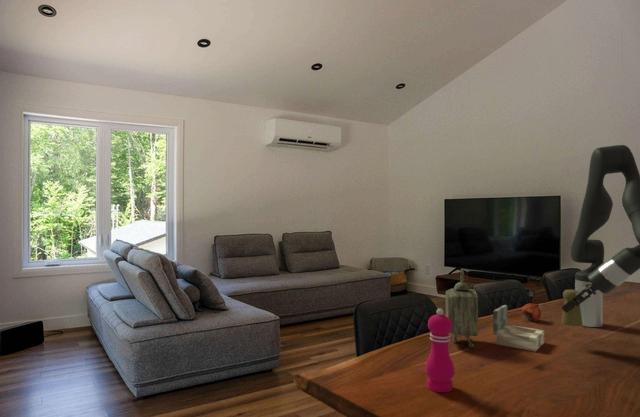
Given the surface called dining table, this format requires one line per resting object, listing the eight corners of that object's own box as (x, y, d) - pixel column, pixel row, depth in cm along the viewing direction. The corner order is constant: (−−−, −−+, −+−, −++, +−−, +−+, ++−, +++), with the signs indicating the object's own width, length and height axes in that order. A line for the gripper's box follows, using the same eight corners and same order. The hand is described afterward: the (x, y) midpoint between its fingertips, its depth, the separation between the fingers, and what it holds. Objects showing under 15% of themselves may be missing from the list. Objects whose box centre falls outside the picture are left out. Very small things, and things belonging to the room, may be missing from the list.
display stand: (503, 335, 160) (503, 304, 160) (544, 342, 152) (544, 310, 152) (493, 343, 150) (493, 310, 150) (535, 351, 142) (535, 316, 142)
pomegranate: (533, 329, 177) (551, 313, 178) (521, 314, 177) (539, 298, 178) (522, 326, 184) (539, 310, 185) (511, 312, 184) (528, 296, 186)
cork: (585, 326, 143) (585, 292, 143) (565, 325, 144) (565, 291, 144) (578, 321, 149) (578, 288, 149) (558, 320, 150) (558, 287, 150)
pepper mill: (421, 382, 117) (421, 305, 117) (448, 381, 118) (448, 305, 117) (430, 393, 110) (430, 312, 110) (459, 392, 110) (459, 311, 110)
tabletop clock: (477, 350, 143) (478, 272, 143) (448, 348, 145) (448, 271, 145) (471, 337, 157) (472, 266, 157) (445, 336, 159) (445, 265, 159)
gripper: (601, 264, 147) (560, 295, 155) (595, 269, 136) (551, 303, 144) (620, 281, 144) (578, 313, 152) (616, 288, 133) (570, 322, 141)
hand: (565, 308), depth 148 cm, fingers closed on cork, 4 cm apart
